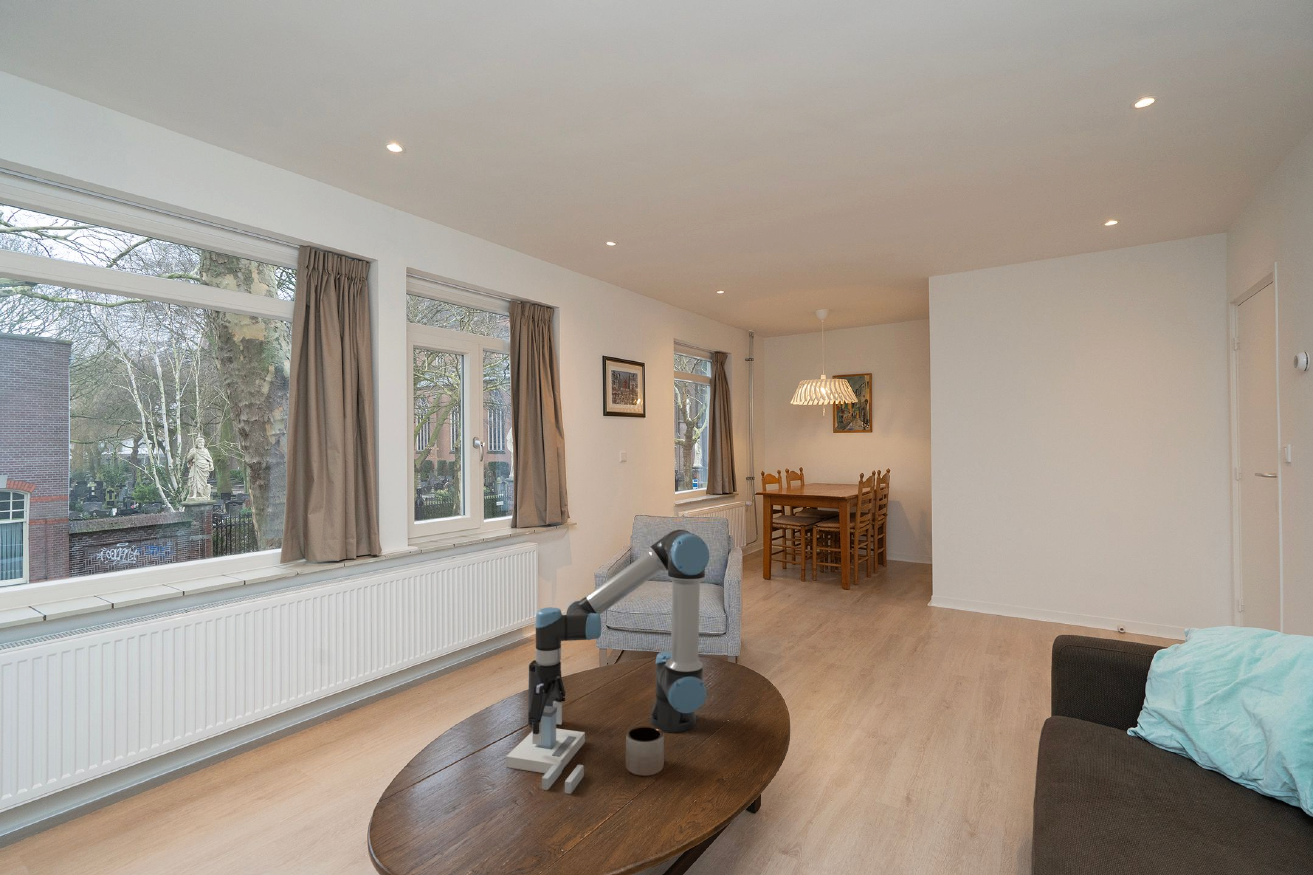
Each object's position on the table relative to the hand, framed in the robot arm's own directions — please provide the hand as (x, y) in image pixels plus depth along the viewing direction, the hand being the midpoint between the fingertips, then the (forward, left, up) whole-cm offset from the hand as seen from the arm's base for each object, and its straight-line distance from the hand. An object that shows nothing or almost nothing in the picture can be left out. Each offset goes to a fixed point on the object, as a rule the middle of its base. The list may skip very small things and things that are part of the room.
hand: (547, 733), depth 180 cm
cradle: (-11, +13, -6) cm, 18 cm away
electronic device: (+10, -18, -6) cm, 21 cm away
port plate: (0, 0, -6) cm, 6 cm away
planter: (-30, -1, -6) cm, 31 cm away
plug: (0, 0, -6) cm, 6 cm away
